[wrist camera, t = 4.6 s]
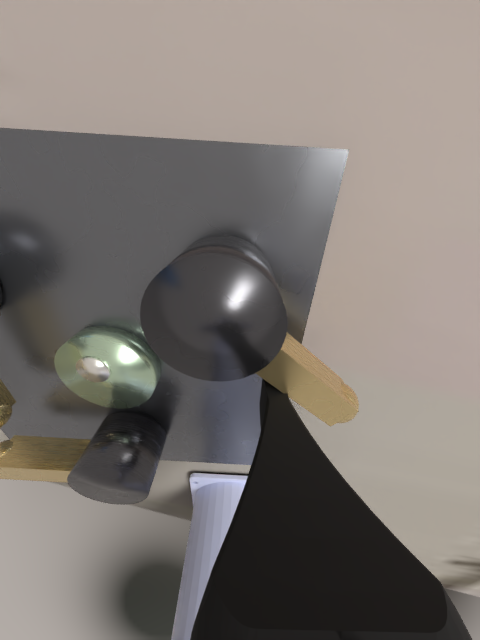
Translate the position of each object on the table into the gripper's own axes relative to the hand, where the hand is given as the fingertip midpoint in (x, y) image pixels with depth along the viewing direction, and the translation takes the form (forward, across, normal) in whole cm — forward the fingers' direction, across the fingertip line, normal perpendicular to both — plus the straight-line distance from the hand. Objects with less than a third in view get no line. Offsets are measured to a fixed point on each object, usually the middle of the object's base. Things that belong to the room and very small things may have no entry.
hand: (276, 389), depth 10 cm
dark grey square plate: (+3, +9, 0) cm, 9 cm away
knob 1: (+2, +12, +6) cm, 13 cm away
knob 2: (+1, 0, -3) cm, 3 cm away
